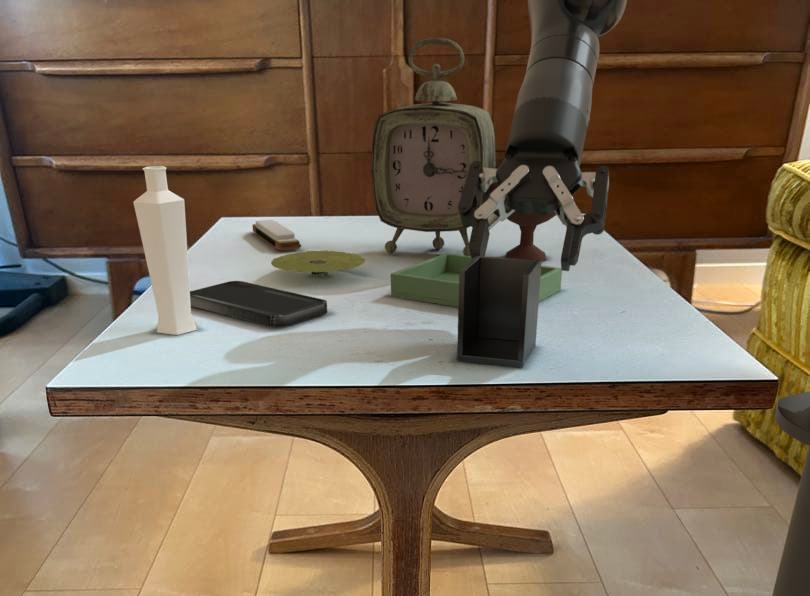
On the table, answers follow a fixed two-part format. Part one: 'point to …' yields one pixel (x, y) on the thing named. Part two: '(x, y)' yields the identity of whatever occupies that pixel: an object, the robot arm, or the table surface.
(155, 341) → the table surface
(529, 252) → the ice cream bowl
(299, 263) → the green round disc
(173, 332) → the perfume bottle
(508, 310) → the holder
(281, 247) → the harmonica
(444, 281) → the tray
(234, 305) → the phone
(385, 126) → the tabletop clock
